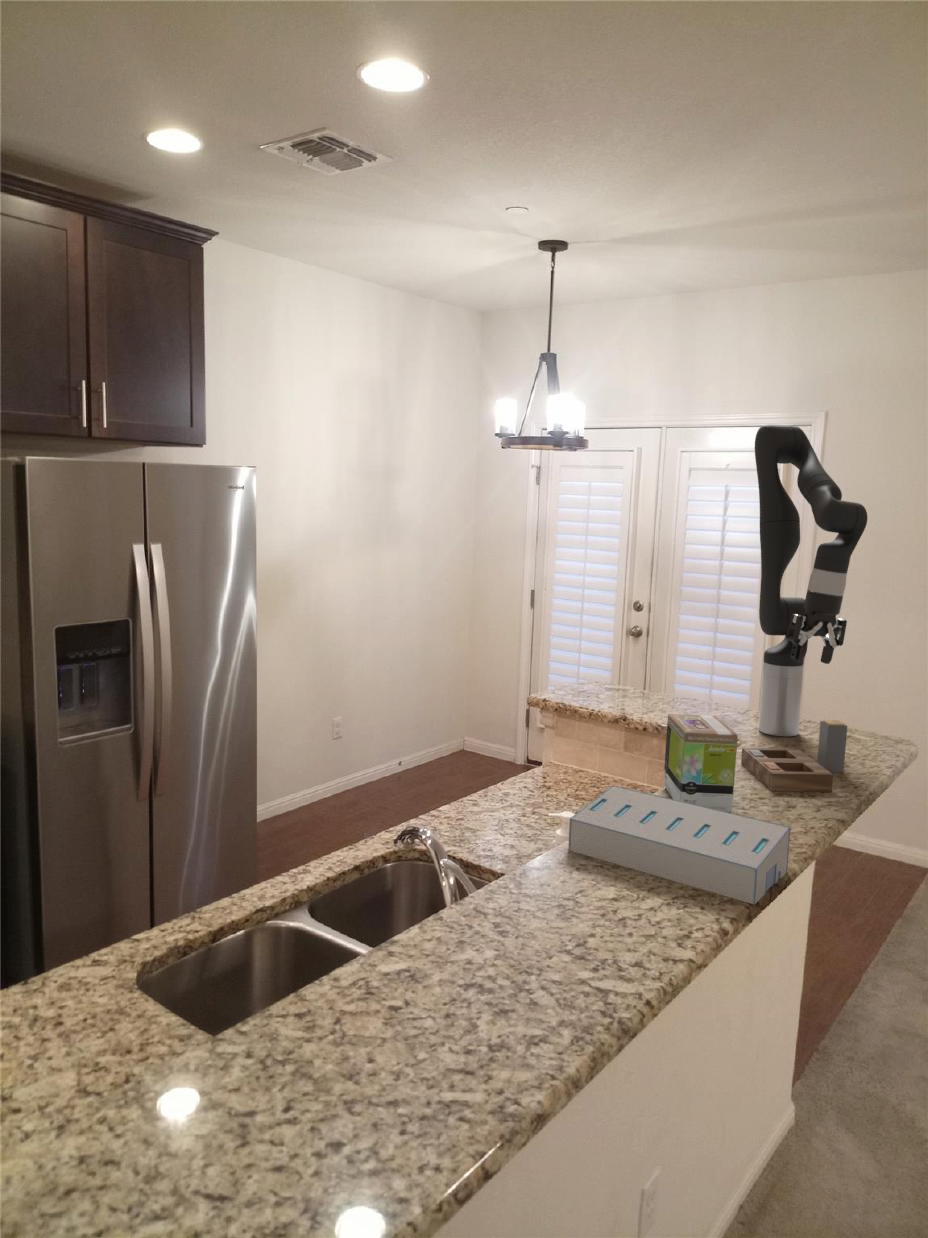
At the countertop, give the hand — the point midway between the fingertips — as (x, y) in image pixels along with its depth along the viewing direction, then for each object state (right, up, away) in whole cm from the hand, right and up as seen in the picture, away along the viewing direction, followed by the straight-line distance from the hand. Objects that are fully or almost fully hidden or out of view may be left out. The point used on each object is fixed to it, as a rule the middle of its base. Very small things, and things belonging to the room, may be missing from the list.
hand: (810, 662), depth 200 cm
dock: (-12, -23, -17) cm, 30 cm away
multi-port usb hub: (-45, -29, -60) cm, 80 cm away
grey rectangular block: (0, -22, -10) cm, 25 cm away
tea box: (-34, -25, -31) cm, 52 cm away
